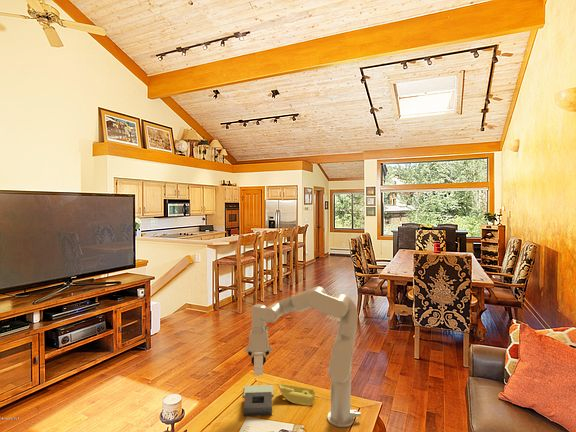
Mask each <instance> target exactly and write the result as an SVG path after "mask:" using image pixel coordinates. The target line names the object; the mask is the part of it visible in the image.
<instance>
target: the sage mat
mask: <svg viewBox="0 0 576 432" xmlns="http://www.w3.org/2000/svg"><path fill="white" fill-rule="evenodd" d="M252 392H272V397H274V385H273V384H269V385H268V384H264V385H263V384H259V385H244V389H243V398H245V393H252Z"/></svg>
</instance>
